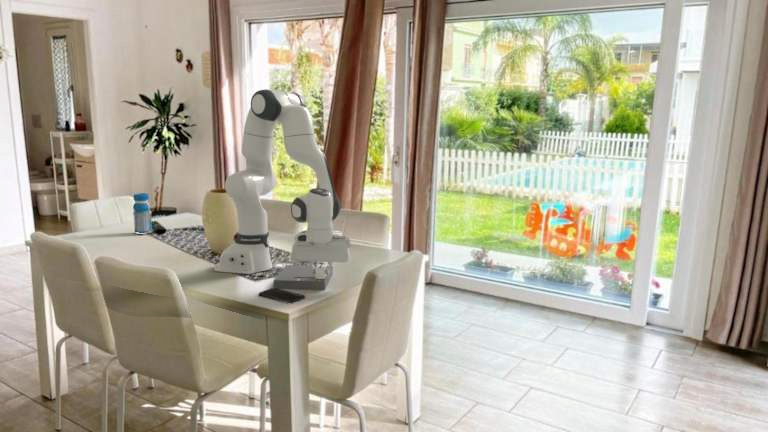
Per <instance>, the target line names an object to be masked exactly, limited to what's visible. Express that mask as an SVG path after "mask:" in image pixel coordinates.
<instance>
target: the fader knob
mask: <svg viewBox="0 0 768 432" xmlns="http://www.w3.org/2000/svg"><path fill="white" fill-rule="evenodd" d="M315 266H316V279H325V277H326V274H325V268H326V266H327V264H321V263H317V265H315Z"/></svg>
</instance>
